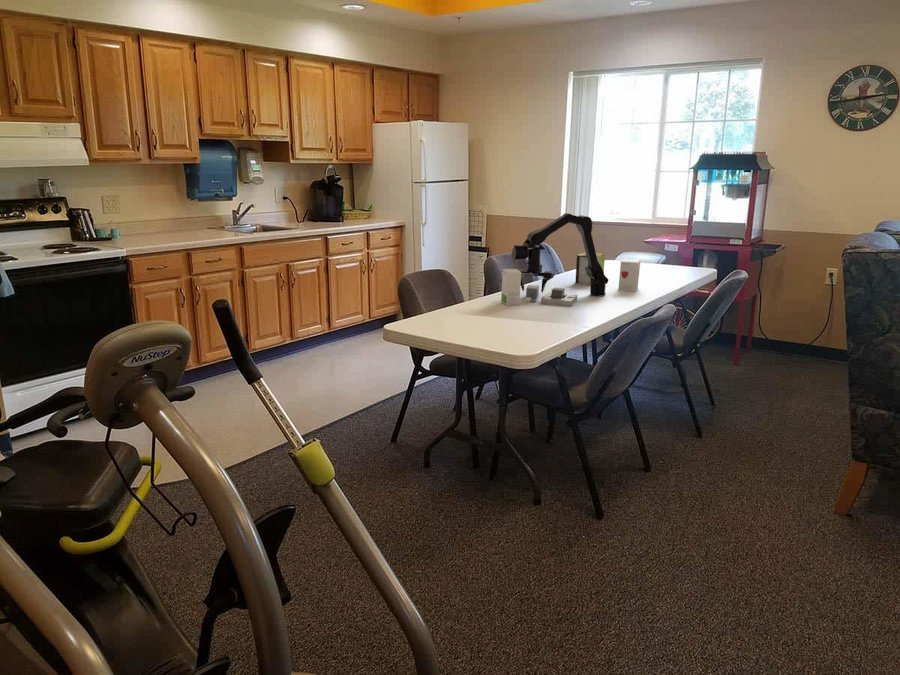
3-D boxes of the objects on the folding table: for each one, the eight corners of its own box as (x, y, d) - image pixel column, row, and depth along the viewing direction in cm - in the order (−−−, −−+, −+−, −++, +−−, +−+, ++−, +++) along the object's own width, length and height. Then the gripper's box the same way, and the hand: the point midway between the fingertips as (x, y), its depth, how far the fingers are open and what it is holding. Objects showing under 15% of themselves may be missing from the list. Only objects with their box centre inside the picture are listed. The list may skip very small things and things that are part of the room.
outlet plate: (577, 300, 305) (577, 294, 304) (571, 306, 293) (571, 300, 292) (548, 297, 310) (548, 292, 309) (540, 303, 298) (541, 298, 297)
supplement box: (617, 290, 329) (620, 261, 325) (620, 287, 337) (622, 258, 333) (636, 291, 326) (638, 262, 322) (638, 288, 334) (640, 259, 330)
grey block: (563, 301, 304) (564, 287, 302) (561, 303, 300) (562, 289, 298) (553, 300, 306) (554, 286, 304) (551, 302, 301) (551, 288, 300)
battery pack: (538, 296, 314) (538, 285, 312) (536, 300, 305) (536, 288, 304) (528, 296, 315) (528, 284, 313) (525, 299, 306) (526, 288, 305)
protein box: (603, 281, 354) (605, 252, 349) (593, 285, 341) (595, 256, 337) (585, 279, 359) (586, 251, 355) (574, 283, 347) (576, 254, 342)
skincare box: (500, 302, 301) (501, 268, 297) (514, 301, 302) (515, 268, 298) (506, 305, 293) (507, 271, 289) (520, 305, 295) (521, 271, 290)
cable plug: (537, 301, 303) (537, 297, 302) (535, 302, 300) (535, 299, 299) (526, 300, 304) (526, 297, 304) (524, 301, 302) (524, 298, 301)
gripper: (557, 258, 309) (555, 290, 313) (519, 255, 315) (518, 287, 320) (551, 261, 299) (550, 294, 303) (513, 258, 305) (512, 291, 310)
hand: (532, 291), depth 309 cm, fingers open, 9 cm apart
